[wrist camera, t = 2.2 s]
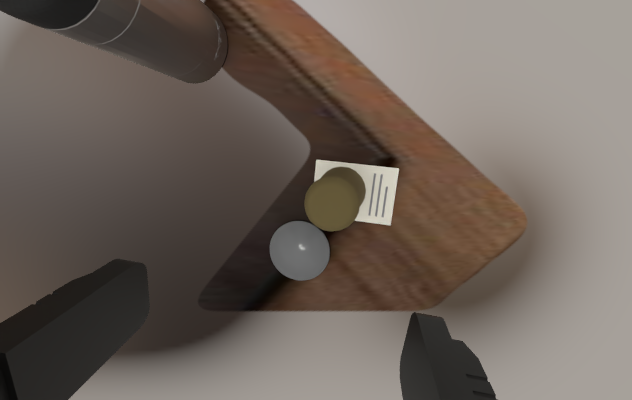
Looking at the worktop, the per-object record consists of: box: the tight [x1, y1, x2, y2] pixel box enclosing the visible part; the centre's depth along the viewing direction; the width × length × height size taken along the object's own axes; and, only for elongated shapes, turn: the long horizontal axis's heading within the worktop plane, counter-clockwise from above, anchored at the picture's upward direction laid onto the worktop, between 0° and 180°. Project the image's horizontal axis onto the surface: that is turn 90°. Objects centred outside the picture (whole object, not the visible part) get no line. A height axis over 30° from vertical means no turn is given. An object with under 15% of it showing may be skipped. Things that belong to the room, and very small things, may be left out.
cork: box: [304, 166, 366, 231], centre depth 31 cm, size 6×6×11 cm
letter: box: [314, 160, 399, 226], centre depth 37 cm, size 10×7×1 cm
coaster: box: [270, 220, 330, 280], centre depth 39 cm, size 8×8×1 cm
